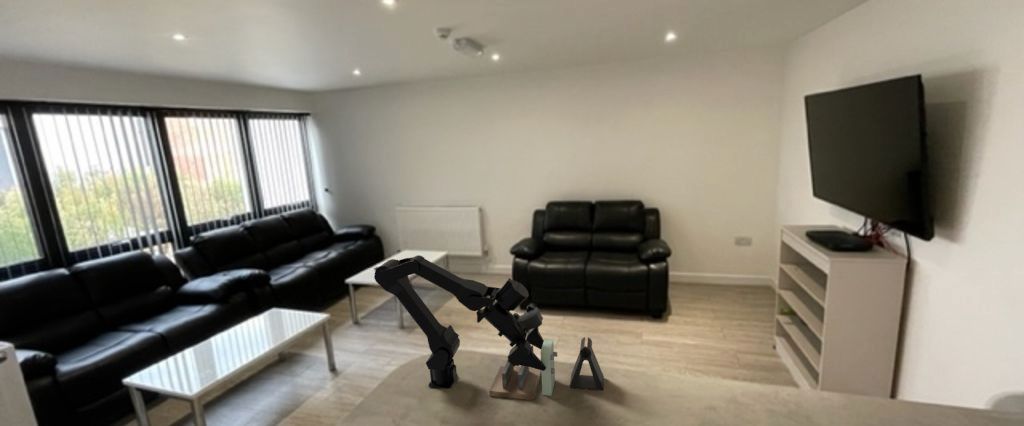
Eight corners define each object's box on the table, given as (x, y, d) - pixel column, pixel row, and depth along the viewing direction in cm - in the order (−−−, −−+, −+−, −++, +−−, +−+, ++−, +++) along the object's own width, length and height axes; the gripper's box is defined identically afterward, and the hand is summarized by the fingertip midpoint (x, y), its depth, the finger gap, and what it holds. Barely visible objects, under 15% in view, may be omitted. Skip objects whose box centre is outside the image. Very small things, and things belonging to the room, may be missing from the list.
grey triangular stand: (603, 377, 118) (603, 338, 116) (603, 390, 112) (603, 349, 110) (571, 375, 120) (570, 336, 118) (569, 388, 114) (568, 347, 112)
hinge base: (489, 395, 113) (488, 375, 112) (501, 370, 124) (499, 351, 123) (534, 400, 110) (533, 379, 109) (541, 373, 122) (540, 354, 120)
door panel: (542, 394, 112) (540, 351, 110) (546, 379, 119) (544, 338, 116) (555, 396, 111) (553, 352, 109) (558, 380, 118) (556, 339, 116)
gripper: (517, 316, 102) (565, 360, 103) (528, 287, 120) (568, 324, 121) (488, 345, 105) (535, 387, 106) (503, 313, 123) (542, 349, 124)
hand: (546, 359), depth 114 cm, fingers open, 9 cm apart
